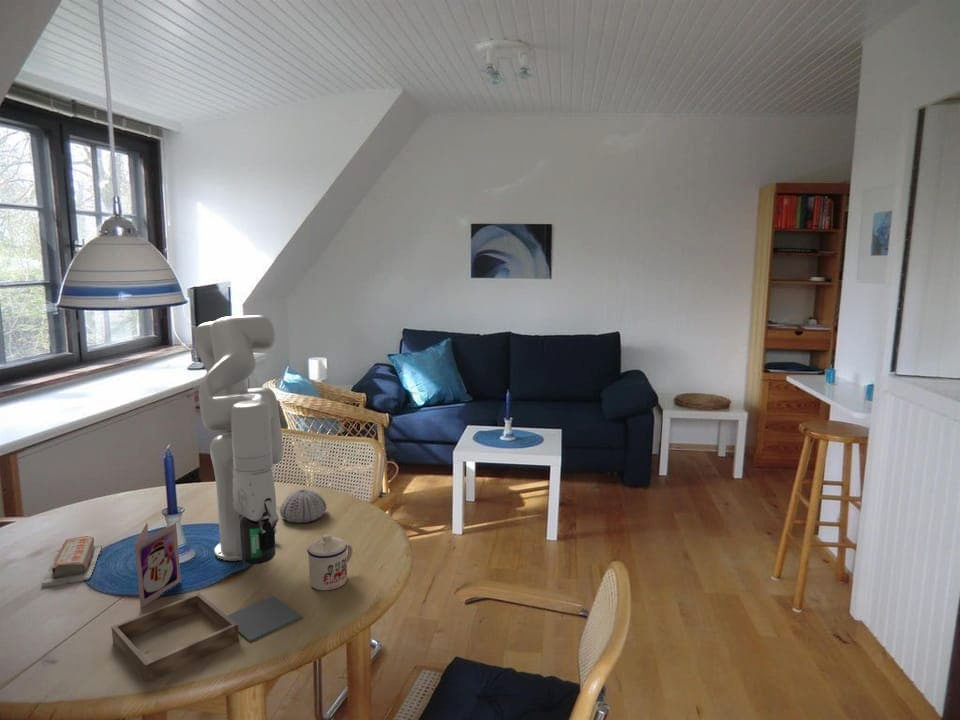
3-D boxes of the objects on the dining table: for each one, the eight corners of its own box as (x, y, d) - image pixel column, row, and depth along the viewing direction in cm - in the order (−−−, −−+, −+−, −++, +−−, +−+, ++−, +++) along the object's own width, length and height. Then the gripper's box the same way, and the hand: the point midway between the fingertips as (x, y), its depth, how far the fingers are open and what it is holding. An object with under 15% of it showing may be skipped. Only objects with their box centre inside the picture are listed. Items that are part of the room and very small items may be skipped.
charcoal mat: (273, 597, 147) (273, 595, 147) (302, 617, 139) (302, 616, 139) (222, 619, 138) (222, 617, 138) (250, 642, 130) (249, 640, 130)
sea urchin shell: (302, 530, 181) (301, 502, 180) (269, 519, 189) (268, 493, 187) (336, 514, 193) (335, 488, 191) (304, 504, 200) (303, 479, 198)
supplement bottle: (262, 567, 132) (259, 511, 130) (234, 562, 134) (230, 507, 132) (282, 552, 138) (279, 499, 136) (255, 547, 140) (252, 495, 138)
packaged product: (56, 538, 166) (101, 531, 170) (58, 555, 167) (102, 549, 171) (39, 570, 150) (88, 562, 153) (41, 589, 151) (90, 581, 154)
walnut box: (200, 607, 143) (199, 592, 142) (239, 640, 131) (238, 624, 130) (113, 642, 130) (111, 626, 129) (147, 682, 118) (145, 665, 117)
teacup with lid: (326, 595, 148) (324, 548, 146) (300, 583, 153) (298, 537, 151) (365, 574, 157) (363, 529, 155) (339, 563, 162) (338, 520, 160)
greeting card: (143, 608, 142) (137, 544, 139) (118, 602, 145) (111, 539, 142) (183, 583, 153) (178, 523, 150) (159, 577, 155) (154, 518, 153)
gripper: (215, 456, 135) (221, 536, 139) (257, 476, 124) (262, 563, 127) (249, 448, 141) (254, 525, 144) (292, 466, 129) (296, 550, 132)
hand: (258, 542), depth 135 cm, fingers closed on supplement bottle, 6 cm apart
